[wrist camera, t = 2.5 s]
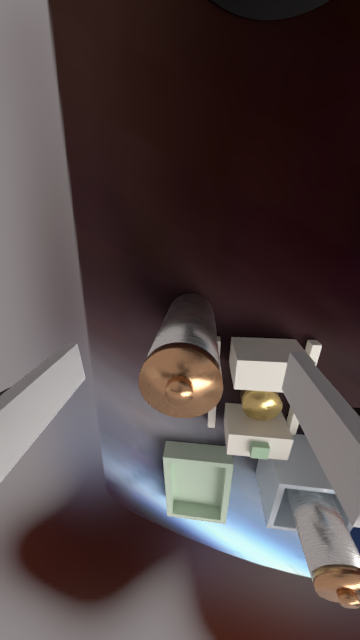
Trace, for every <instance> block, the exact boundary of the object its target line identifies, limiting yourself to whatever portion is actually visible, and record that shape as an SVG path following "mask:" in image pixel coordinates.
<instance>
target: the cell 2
mask: <svg viewBox="0 0 360 640" xmlns="http://www.w3.org/2000/svg"><path fill="white" fill-rule="evenodd" d="M285 493H286V496H287V500H288V503H289V506H290V509H291V513H292V516H293V519H294V522H295V526H296V529H297V532H298V535H299V539H300V542H301V545H302V548H303V552H304V555H305V558H306V561H307V565H308V568H309V571H310V574H311V578H312V581H313V584H314V587H315V590H316V593H317V594H318V595H319V596H320V597H322V598H324V599H327V600H330V601H334V602H339V603H340V604H341V606H343V607H345V608H351V609H355V608H359V607H360V553H359V551H358V549H357V547H356V545H355V543H354V541H353V539H352V537H351V535H350V533H349V531H348V528H347V526H346V524H345V522H344V520H343V518H342V516H341V514H340V512H339V510H338V508H337V506H336V503H335V501H334V499H333V497H332V495H331V493H323V492H314V491H305V490H297V489H288V488H285Z"/></svg>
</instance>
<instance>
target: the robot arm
mask: <svg viewBox="0 0 360 640" xmlns="http://www.w3.org/2000/svg"><path fill="white" fill-rule="evenodd" d="M212 1H213V2H214V3H216V4H217V5H219V6H220V7H221V8H223V9H225V10H227V11H229V12H231V13H233V14H236V15H239V16H242V17H245V18H249V19H256V20H279V19H285V18H290V17H294V16H297V15H301V14H303V13H306V12H308V11H311V10H313V9H315V8H317V7H319V6H321V5H323V4H325V3H327V2H328V1H330V0H212ZM85 379H86V378H85V374H84V369H83V365H82V361H81V358H80V353H79V349H78V344H69V343H66V344H65V345H64V346H62V347H61V348H60V349H58V350H57V351H56V352H55V353H53V354H52V355H51V356H50V357H48V358H47V359H46V360H45V361H43V362H42V363H41V364H40V365H38V366H37V367H36V368H35V369H33V370H32V371H31V372H30V373H28V374H27V375H26V376H24V377H23V378H22V379H21V380H19V381H18V382H17V383H16V384H14V385H13V386H12V387H10V388H8V389H6V390H4V391H2V392H0V483H1V482H2V480H3V479H4V478H5V477H6V475H7V474H8V473H9V472H10V470H11V469H12V468H13V466H15V464H16V463H17V462H18V461H19V459H20V458H21V457H22V456H23V454H24V453H25V452H26V451H27V450H28V448H29V447H30V446H31V445H32V444H33V442H34V441H35V440H36V439H37V437H38V436H39V435H40V434H41V432H42V431H43V430H44V429H45V428H46V426H47V425H48V424H49V423H50V421H51V420H52V419H53V418H54V417H55V415H56V414H57V413H58V412H59V410H60V409H61V408H62V407H63V406H64V404H65V403H66V402H67V401H68V399H69V398H70V397H71V396H72V394H73V393H74V392H75V391H76V390H77V388H78V387H79V386H80V385H81V383H82V382H83V381H84V380H85ZM282 391H283V393H284V395H285V397H286V399H287V401H288V403H289V404H290V406H291V408H292V410H293V412H294V414H295V416H296V418H297V420H298V422H299V424H300V426H301V428H302V430H303V432H304V434H305V436H306V437H307V439H308V441H309V443H310V445H311V447H312V449H313V451H314V453H315V455H316V457H317V459H318V461H319V463H320V465H321V467H322V469H323V470H324V472H325V474H326V476H327V478H328V480H329V482H330V484H331V486H332V488H333V490H334V492H335V494H336V496H337V498H338V500H339V502H340V503H341V505H342V507H343V509H344V511H345V513H346V515H347V517H348V519H349V521H350V523H351V525H352V527H359V528H360V408H352V407H351V406H350V405H349V404H348V403H347V401H346V400H345V399H344V398H343V397H342V396H341V395H340V393H339V392H338V391H337V390H336V389H335V388H334V386H333V385H332V384H331V383H330V382H329V381H328V380H327V378H326V377H325V376H324V375H323V374H322V373H321V372H320V370H319V369H318V368H317V367H316V366H315V365H314V363H313V362H312V361H311V360H310V359H309V358H308V357H307V355H306V354H305V353H304V352H290V353H289V358H288V362H287V367H286V371H285V376H284V380H283V385H282Z"/></svg>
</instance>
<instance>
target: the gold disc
mask: <svg viewBox="0 0 360 640" xmlns="http://www.w3.org/2000/svg"><path fill="white" fill-rule="evenodd" d="M240 398H241V402H242V407H243V411H244V413H245V414H246V415H247V416H248V417H250V418H251V419H254V420H258V421H265V420H270V419H273V418H275V417H276V416H278V415H279V414H280V412H281V410H282V402H281V399H280V397H279V395H278V393H277V392H268V391H253V390H241V392H240Z"/></svg>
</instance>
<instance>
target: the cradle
mask: <svg viewBox="0 0 360 640" xmlns="http://www.w3.org/2000/svg"><path fill="white" fill-rule="evenodd" d="M217 341H218V349H219V357H220V345H221V340H220V337H219V336H217ZM321 348H322V345H321V344H320V343H319V342H318V341H317V340H308V341H307V344H306V348H305V350H304V349H303V348H302V346H301V345H300V344H299V343H298V342H297V340H296V339H274V338H247V337H231V346H230V357H229V365H230V370H231V376H232V381H233V387H234V389H237V390H253V391H268V392H283V391H282V385H283V380H284V376H285V371H286V367H287V362H288V358H289V353H290V352H304V353H305V354H306V355H307V357H308V358H309V359H310V360H311V361H312V362H313V363H314V365H315V366H316V365H317V361H318V358H319V355H320V351H321ZM215 417H216V406H215V407H214V408H213V409H212V410H210V411H209V412H208V427H210V428H215ZM298 425H299V422H298V420H297V418H296V416H295V414H294V412H293V410H292V408H291V406H290V409H289V413H288V417H287V421H286V420H285V418H284V416H283V413H282V411H281V412H280V414H279V415H278V416H276V417H275V418H273V419H270V420H265V421H258V420H254V419H251V418H250V417H248V416H247V415H246V414H245V413H244V411H243V407H242V404H235V403H225V411H224V431H225V442H226V452H227V454H228V455H238V456H248V457H251V458H255V459H265V460H268V458H269V459H279V460H288V458H289V454H290V451H291V448H292V444H293V441H294V439H293V437H292V435H296V432H297V428H298Z"/></svg>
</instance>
